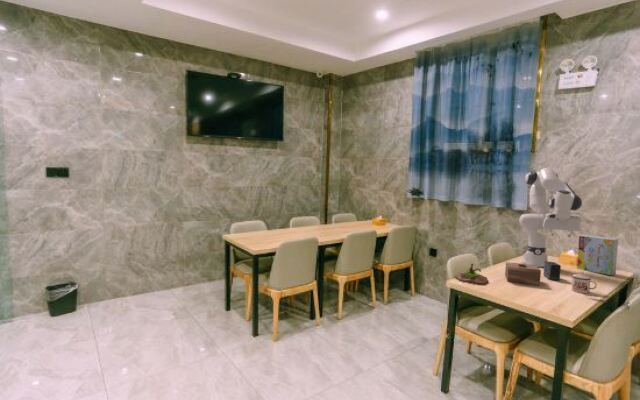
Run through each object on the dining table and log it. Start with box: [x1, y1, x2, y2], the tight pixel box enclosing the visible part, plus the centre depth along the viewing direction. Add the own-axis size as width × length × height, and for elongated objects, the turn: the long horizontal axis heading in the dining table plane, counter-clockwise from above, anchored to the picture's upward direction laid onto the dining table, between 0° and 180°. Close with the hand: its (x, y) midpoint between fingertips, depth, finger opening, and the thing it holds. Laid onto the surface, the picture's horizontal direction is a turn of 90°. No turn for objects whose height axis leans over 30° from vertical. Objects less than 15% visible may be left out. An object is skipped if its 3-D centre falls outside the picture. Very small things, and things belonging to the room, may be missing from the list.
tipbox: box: [504, 261, 542, 287], centre depth 232 cm, size 14×18×10 cm
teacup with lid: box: [571, 271, 598, 294], centre depth 212 cm, size 12×9×12 cm
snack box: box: [576, 234, 619, 276], centre depth 260 cm, size 22×9×26 cm, turn 34°
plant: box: [454, 263, 489, 286], centre depth 231 cm, size 20×20×11 cm
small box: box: [543, 260, 562, 281], centre depth 240 cm, size 11×6×10 cm, turn 169°
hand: (560, 236), depth 232 cm, fingers open, 8 cm apart
